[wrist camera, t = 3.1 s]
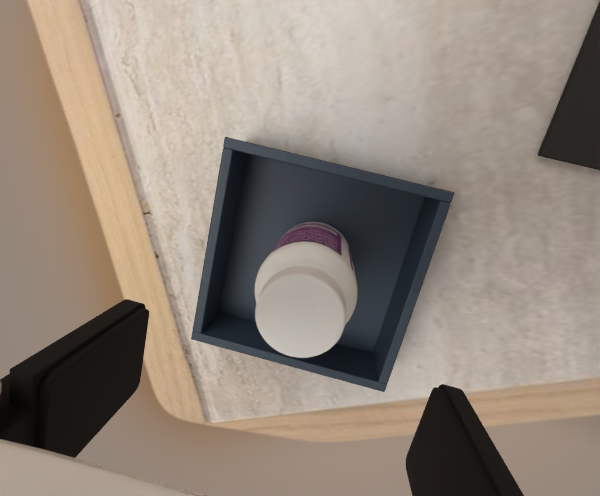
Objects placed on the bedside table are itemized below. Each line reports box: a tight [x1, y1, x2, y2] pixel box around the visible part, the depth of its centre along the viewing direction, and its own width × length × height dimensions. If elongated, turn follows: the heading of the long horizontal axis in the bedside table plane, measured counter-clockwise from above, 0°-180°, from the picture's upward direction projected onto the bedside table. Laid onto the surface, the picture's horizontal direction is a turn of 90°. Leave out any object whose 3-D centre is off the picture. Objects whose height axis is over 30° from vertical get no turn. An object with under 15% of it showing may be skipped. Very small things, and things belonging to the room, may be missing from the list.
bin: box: [191, 137, 454, 392], centre depth 22 cm, size 13×13×4 cm
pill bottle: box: [255, 222, 357, 358], centre depth 19 cm, size 5×5×10 cm
